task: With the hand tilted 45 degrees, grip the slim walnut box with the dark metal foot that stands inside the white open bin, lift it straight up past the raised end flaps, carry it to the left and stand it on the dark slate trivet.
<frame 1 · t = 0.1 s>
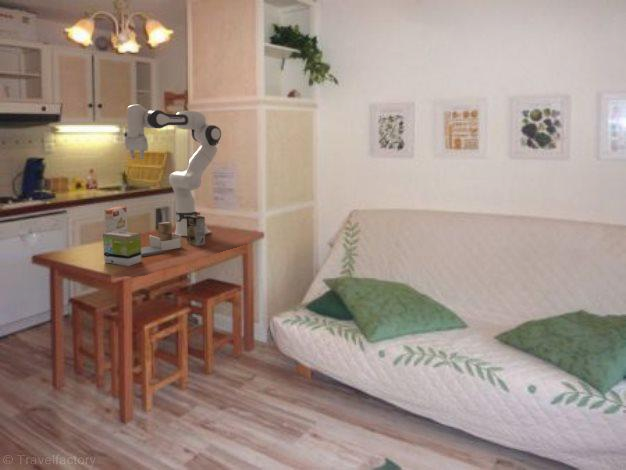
hand: (137, 158, 315), 48 cm above the table, tool pointing down, fingers open, 8 cm apart
walnut box: (165, 247, 306), resting in white open bin
tea box: (123, 262, 272), on the table
cracker box: (117, 244, 313), on the table
trivet: (144, 252, 293), on the table
white open bin: (165, 247, 306), on the table
coffee box: (196, 244, 317), on the table
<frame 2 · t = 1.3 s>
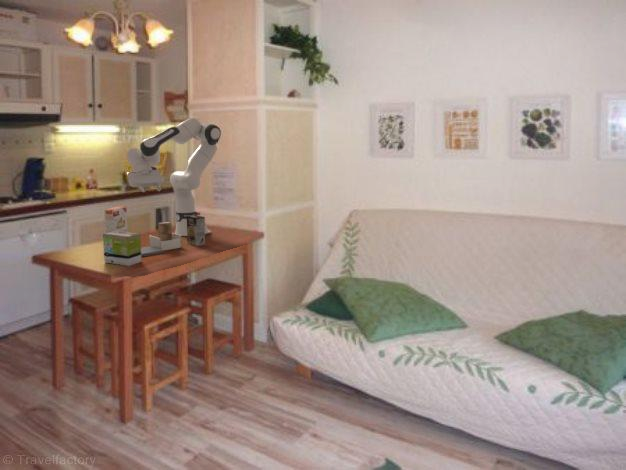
hand: (151, 190, 309), 31 cm above the table, tool tilted 45°, fingers open, 8 cm apart
nothing on the table moved.
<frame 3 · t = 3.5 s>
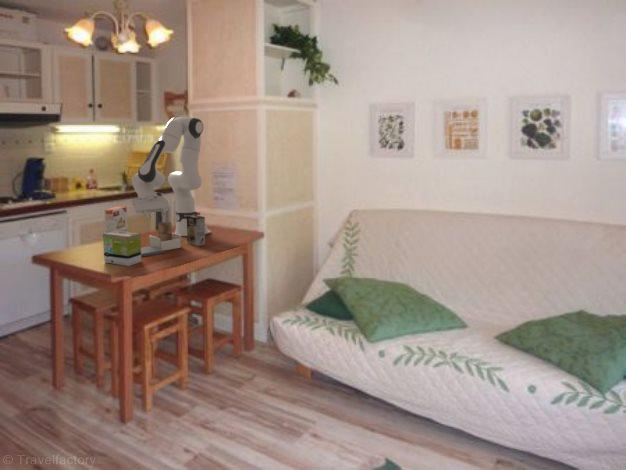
hand: (157, 217, 308), 16 cm above the table, tool tilted 45°, fingers open, 8 cm apart
nothing on the table moved.
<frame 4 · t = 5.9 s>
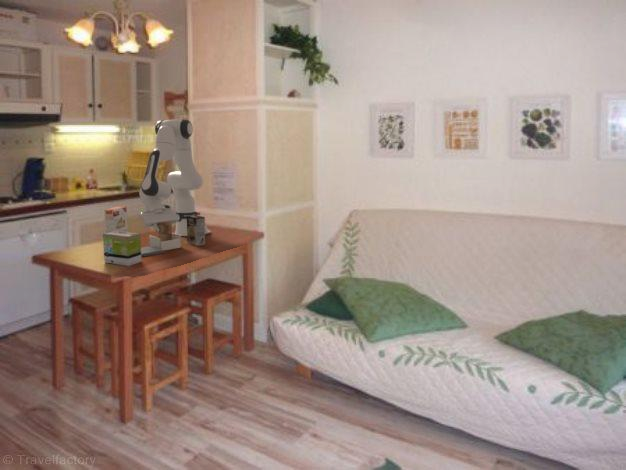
hand: (165, 230, 304), 10 cm above the table, tool tilted 45°, fingers closed on walnut box, 6 cm apart
walnut box: (165, 247, 306), resting in white open bin, touching gripper
everything else where it was.
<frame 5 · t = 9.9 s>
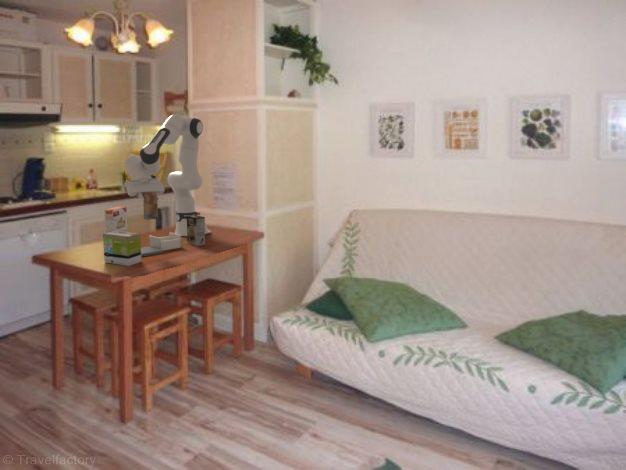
hand: (150, 200, 292), 27 cm above the table, tool tilted 45°, fingers closed on walnut box, 6 cm apart
walnut box: (150, 218, 294), point 18 cm above the table, touching gripper
everything else where it was.
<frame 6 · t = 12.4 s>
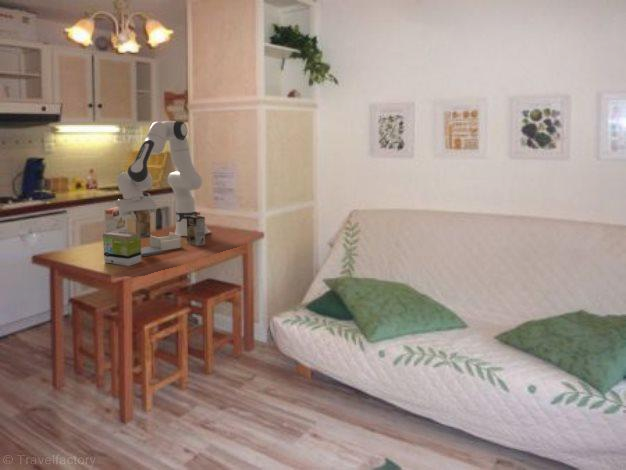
hand: (143, 219, 289), 18 cm above the table, tool tilted 45°, fingers closed on walnut box, 6 cm apart
walnut box: (143, 237, 291), point 8 cm above the table, touching gripper
everything else where it was.
when the fingers open (13 cm above the table, at t = 14.3 s): walnut box drops 1 cm, resting on trivet.
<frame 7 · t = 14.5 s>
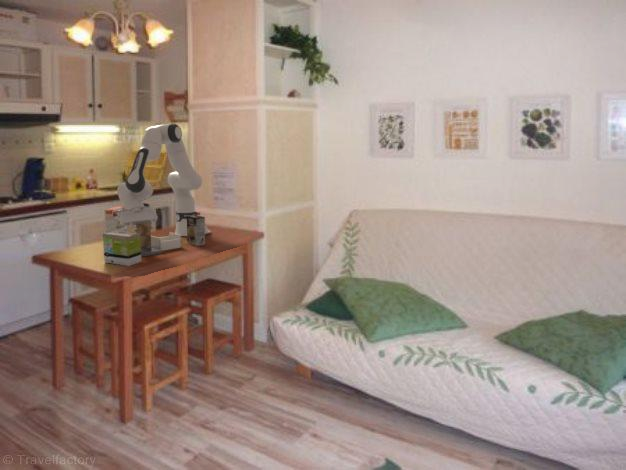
hand: (143, 229, 290), 13 cm above the table, tool tilted 45°, fingers open, 8 cm apart
walnut box: (144, 250, 293), point 1 cm above the table, touching trivet
everything else where it was.
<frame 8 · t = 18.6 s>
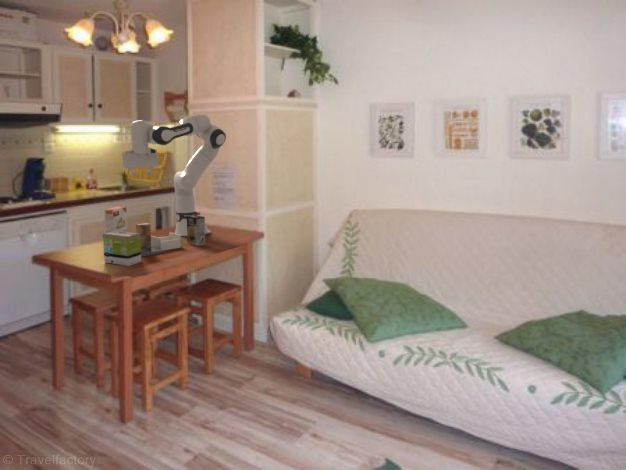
hand: (141, 175, 305), 39 cm above the table, tool pointing down, fingers open, 8 cm apart
nothing on the table moved.
at the end: walnut box inside the target area on the trivet (0.1 cm from its centre), point 1.5 cm above the trivet's base; walnut box tilted 0°; the gripper is holding nothing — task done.
